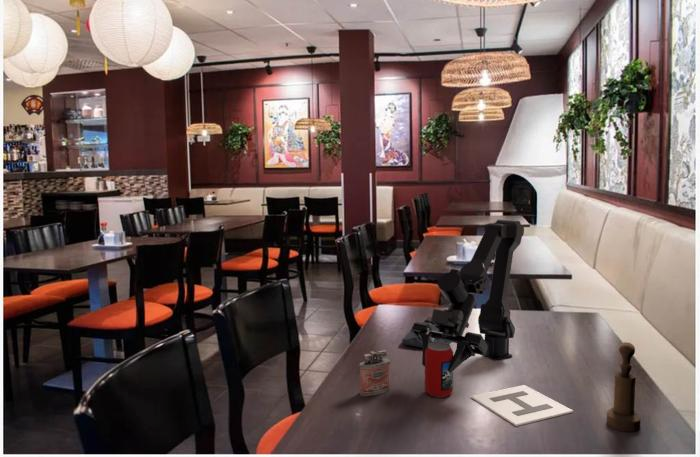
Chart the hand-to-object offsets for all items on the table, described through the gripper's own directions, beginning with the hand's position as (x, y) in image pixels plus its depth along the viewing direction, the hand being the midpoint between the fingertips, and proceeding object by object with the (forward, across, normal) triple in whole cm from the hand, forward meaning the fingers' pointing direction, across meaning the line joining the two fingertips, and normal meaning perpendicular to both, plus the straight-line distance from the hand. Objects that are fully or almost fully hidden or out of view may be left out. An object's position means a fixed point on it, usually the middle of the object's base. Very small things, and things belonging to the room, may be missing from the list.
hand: (436, 368), depth 137 cm
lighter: (+10, -13, 0) cm, 16 cm away
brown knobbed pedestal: (-2, +39, +12) cm, 41 cm away
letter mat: (0, +18, +10) cm, 21 cm away
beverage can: (+4, 0, +6) cm, 7 cm away
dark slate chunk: (-20, -23, +31) cm, 44 cm away
